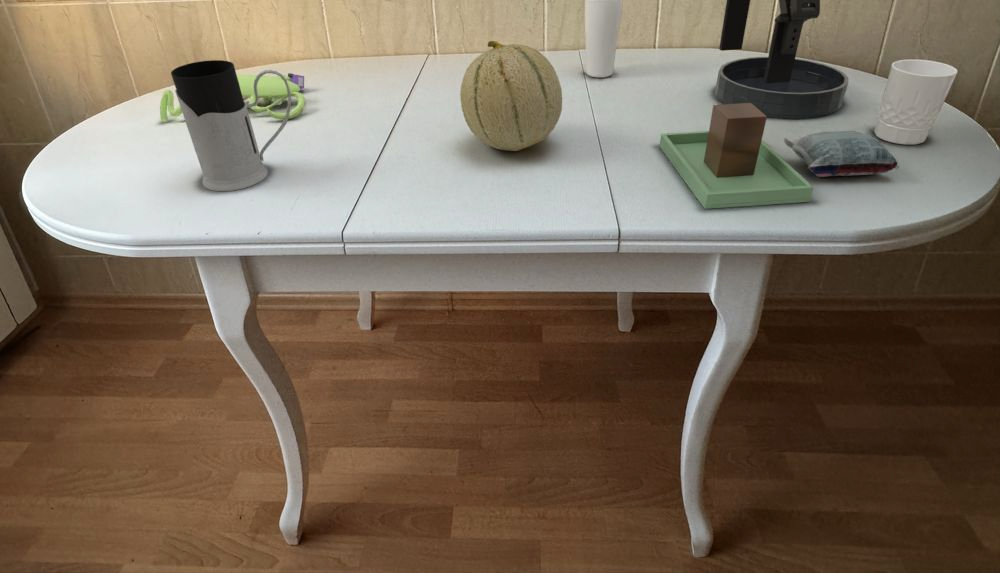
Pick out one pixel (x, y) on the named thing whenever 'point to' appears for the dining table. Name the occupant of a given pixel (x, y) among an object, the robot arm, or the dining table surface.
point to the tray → (762, 188)
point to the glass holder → (222, 124)
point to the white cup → (913, 100)
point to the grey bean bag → (842, 153)
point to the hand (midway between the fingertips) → (751, 64)
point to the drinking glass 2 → (601, 35)
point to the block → (734, 139)
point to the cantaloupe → (511, 97)
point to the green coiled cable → (265, 89)
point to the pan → (783, 88)
